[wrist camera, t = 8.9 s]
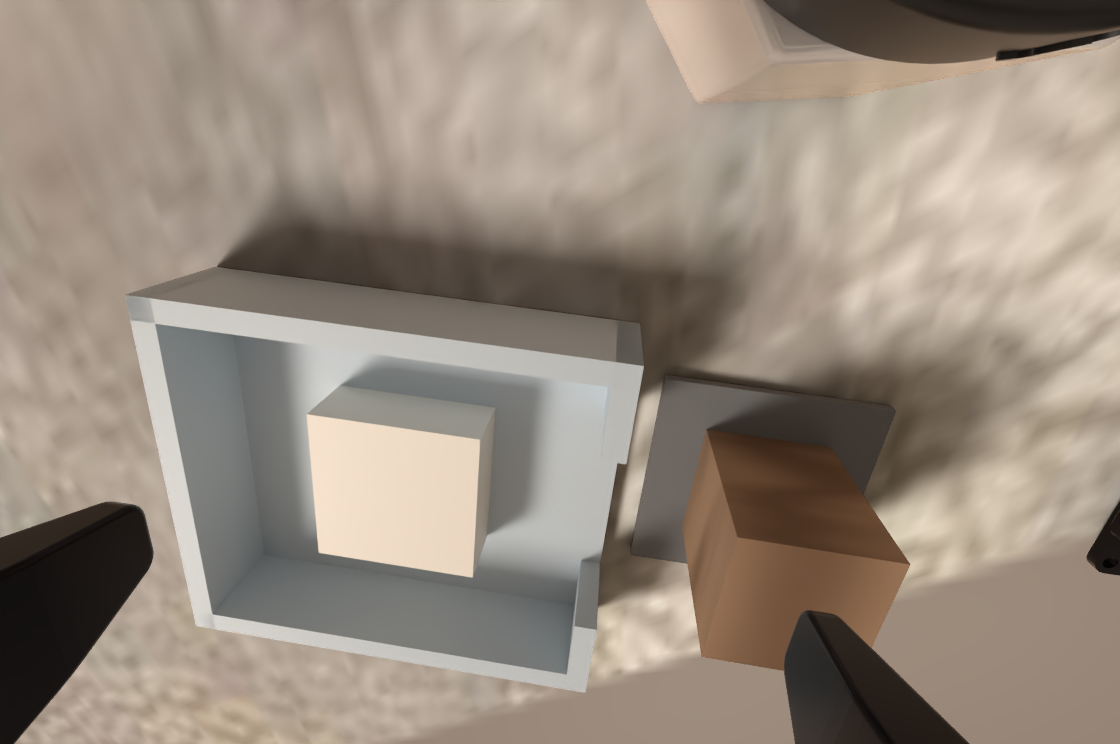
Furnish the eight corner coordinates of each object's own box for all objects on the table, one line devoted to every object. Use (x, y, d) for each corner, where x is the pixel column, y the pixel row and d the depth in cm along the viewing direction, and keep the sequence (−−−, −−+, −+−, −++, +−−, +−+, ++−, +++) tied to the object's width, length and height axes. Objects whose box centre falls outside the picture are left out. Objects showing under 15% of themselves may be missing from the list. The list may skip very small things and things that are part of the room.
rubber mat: (891, 405, 19) (895, 410, 19) (824, 578, 23) (827, 585, 22) (664, 374, 20) (665, 379, 20) (630, 548, 23) (630, 554, 23)
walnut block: (830, 447, 20) (910, 564, 14) (796, 545, 22) (855, 683, 16) (706, 429, 20) (737, 537, 15) (682, 527, 22) (701, 656, 16)
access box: (639, 323, 19) (643, 366, 16) (590, 610, 25) (585, 692, 21) (215, 266, 20) (124, 294, 16) (257, 556, 26) (196, 626, 22)
